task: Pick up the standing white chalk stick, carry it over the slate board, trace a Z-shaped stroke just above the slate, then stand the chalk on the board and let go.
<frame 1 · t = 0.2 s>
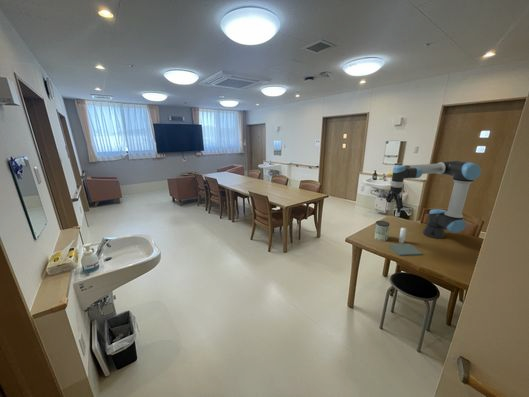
hand: (392, 213, 164), 27 cm above the table, fingers open, 13 cm apart
slate board: (404, 250, 163), on the table
chalk stick: (401, 241, 175), on the table
coffee can: (380, 238, 183), on the table
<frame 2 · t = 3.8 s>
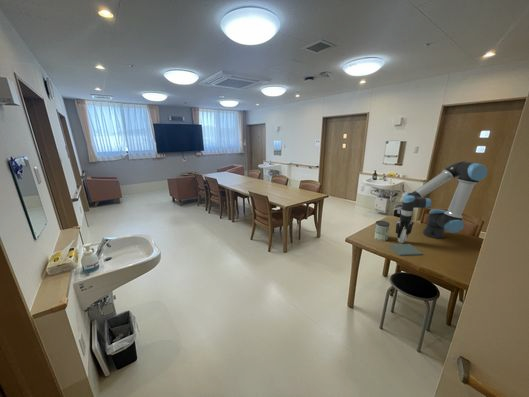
hand: (401, 241, 175), 1 cm above the table, fingers closed on chalk stick, 4 cm apart
chalk stick: (401, 241, 175), on the table, touching gripper
everything else where it was.
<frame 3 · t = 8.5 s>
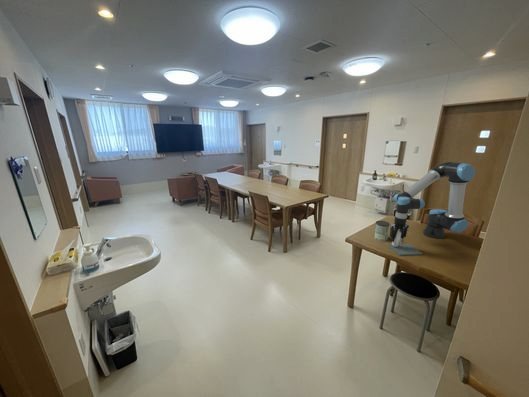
hand: (396, 245, 166), 2 cm above the table, fingers closed on chalk stick, 4 cm apart
chalk stick: (396, 245, 166), point 2 cm above the table, touching gripper
everything else where it was.
when the fingers open (2 cm above the table, at t = 13.3 s): chalk stick stays where it is, resting on slate board.
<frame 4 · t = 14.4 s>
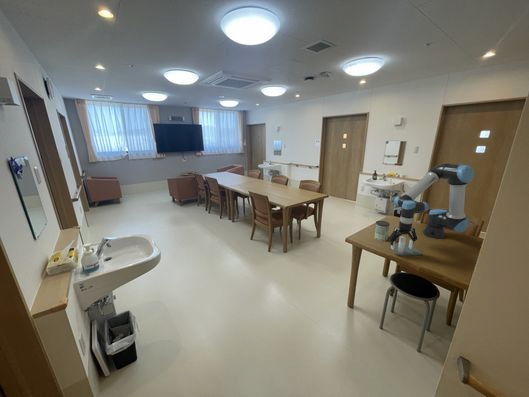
hand: (401, 248, 158), 4 cm above the table, fingers open, 13 cm apart
chalk stick: (400, 252, 158), point 1 cm above the table, touching slate board
everything else where it was.
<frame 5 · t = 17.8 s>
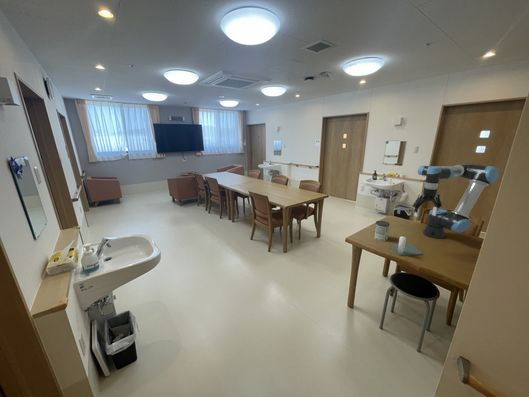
hand: (424, 215, 158), 27 cm above the table, fingers open, 13 cm apart
nothing on the table moved.
at the end: chalk stick inside the target area (7.2 cm from its centre), point 1.2 cm above the table; the gripper is holding nothing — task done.
